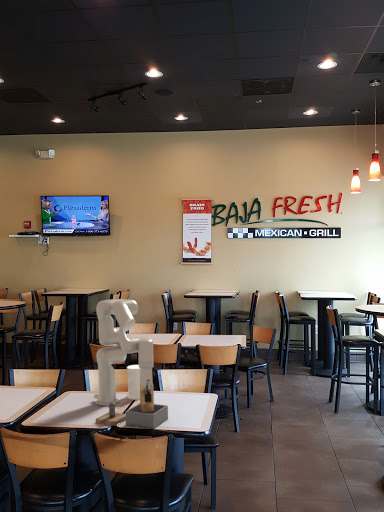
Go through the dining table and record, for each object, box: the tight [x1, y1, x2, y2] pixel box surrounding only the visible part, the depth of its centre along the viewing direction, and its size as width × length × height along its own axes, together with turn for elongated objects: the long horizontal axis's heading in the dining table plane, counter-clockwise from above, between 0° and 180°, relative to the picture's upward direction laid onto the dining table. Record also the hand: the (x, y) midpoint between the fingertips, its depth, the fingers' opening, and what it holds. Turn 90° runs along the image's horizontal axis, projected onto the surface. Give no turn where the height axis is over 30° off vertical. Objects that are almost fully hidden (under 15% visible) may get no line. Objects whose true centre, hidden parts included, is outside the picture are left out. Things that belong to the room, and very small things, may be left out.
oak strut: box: [139, 383, 155, 412], centre depth 246 cm, size 6×6×13 cm
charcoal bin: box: [125, 402, 169, 430], centre depth 246 cm, size 16×16×7 cm
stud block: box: [95, 402, 126, 427], centre depth 250 cm, size 12×12×9 cm
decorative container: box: [126, 364, 140, 401], centre depth 292 cm, size 12×12×18 cm
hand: (146, 399), depth 246 cm, fingers closed on oak strut, 5 cm apart
